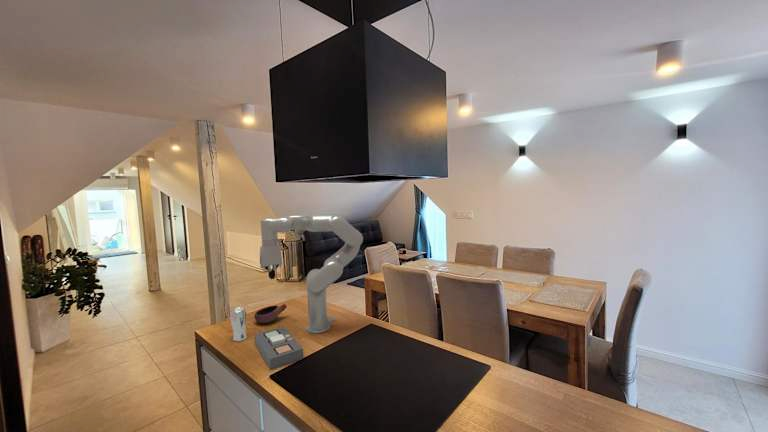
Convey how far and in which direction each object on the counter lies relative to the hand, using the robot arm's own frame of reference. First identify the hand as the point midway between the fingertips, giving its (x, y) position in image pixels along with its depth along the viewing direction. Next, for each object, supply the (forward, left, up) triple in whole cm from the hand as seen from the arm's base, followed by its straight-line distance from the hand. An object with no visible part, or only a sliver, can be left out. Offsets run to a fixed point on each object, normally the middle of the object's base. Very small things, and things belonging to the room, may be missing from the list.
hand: (272, 278), depth 159 cm
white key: (+4, +18, -26) cm, 32 cm away
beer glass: (+16, -6, -29) cm, 34 cm away
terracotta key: (+4, +27, -28) cm, 39 cm away
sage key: (+4, +9, -28) cm, 29 cm away
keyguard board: (+4, +18, -29) cm, 34 cm away
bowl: (-2, -19, -29) cm, 35 cm away
